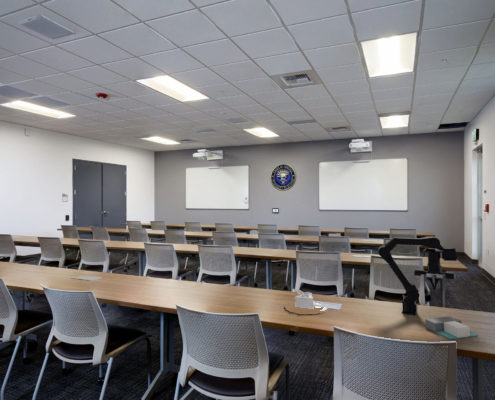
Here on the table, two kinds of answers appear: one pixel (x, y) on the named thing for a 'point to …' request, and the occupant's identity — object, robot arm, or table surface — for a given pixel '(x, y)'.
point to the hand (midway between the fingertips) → (435, 290)
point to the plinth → (439, 323)
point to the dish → (306, 301)
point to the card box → (457, 329)
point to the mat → (452, 335)
